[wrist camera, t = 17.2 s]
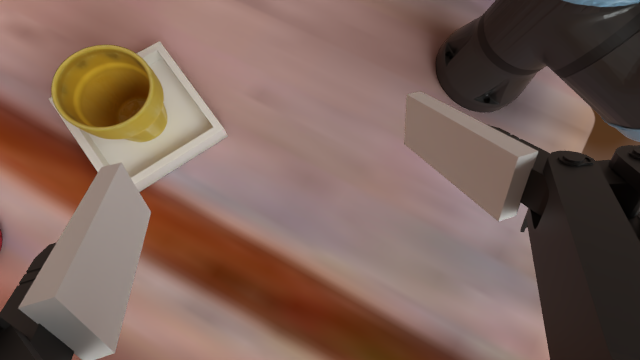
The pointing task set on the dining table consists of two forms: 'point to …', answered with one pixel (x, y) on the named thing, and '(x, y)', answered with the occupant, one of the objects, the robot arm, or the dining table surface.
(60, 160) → the dining table surface
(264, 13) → the dining table surface
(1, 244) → the wine bottle
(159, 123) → the plant pot
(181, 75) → the white tray
